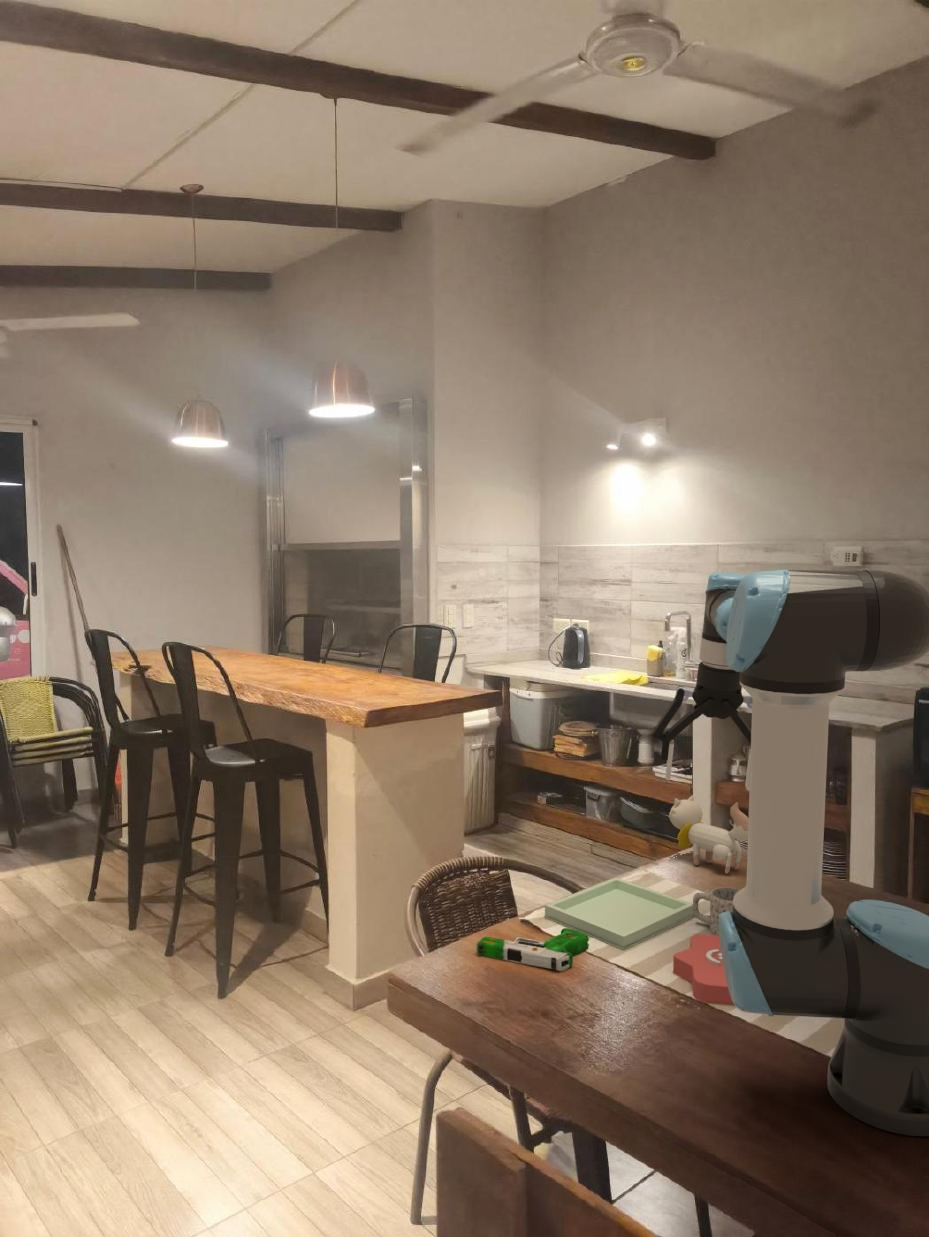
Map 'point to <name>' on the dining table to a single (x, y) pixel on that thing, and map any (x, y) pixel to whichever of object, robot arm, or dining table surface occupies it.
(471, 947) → the dining table surface
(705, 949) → the plaque
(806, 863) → the robot arm
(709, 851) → the toy
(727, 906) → the mug
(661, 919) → the tray
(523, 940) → the handgun
